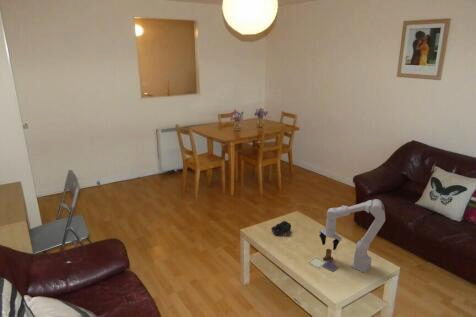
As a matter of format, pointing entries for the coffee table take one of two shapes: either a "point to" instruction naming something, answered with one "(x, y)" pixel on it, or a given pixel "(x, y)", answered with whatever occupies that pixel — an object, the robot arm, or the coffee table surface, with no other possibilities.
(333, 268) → the ink pad
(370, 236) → the robot arm
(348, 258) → the coffee table surface
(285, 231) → the crystal cluster
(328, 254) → the stamp
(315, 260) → the sheet
